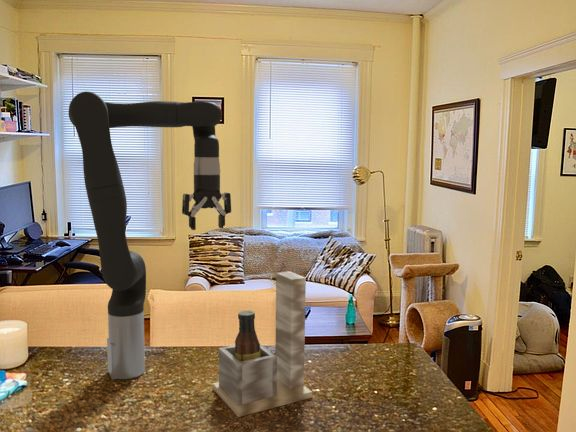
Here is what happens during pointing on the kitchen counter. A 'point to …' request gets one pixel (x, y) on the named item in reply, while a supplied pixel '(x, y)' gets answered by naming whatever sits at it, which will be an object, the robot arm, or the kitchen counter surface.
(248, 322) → the sauce bottle
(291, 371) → the grey holder stand
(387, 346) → the kitchen counter surface
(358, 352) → the kitchen counter surface
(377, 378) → the kitchen counter surface
